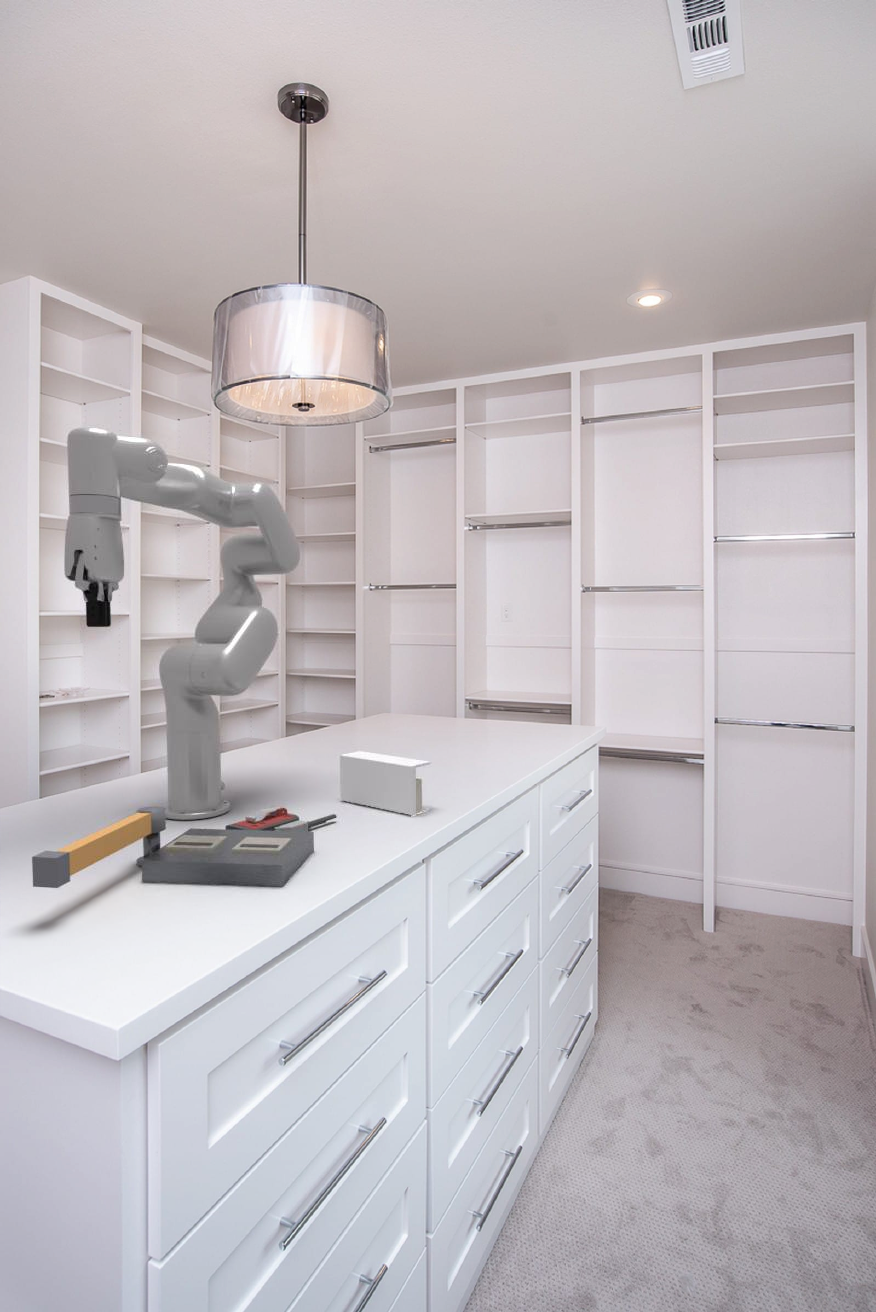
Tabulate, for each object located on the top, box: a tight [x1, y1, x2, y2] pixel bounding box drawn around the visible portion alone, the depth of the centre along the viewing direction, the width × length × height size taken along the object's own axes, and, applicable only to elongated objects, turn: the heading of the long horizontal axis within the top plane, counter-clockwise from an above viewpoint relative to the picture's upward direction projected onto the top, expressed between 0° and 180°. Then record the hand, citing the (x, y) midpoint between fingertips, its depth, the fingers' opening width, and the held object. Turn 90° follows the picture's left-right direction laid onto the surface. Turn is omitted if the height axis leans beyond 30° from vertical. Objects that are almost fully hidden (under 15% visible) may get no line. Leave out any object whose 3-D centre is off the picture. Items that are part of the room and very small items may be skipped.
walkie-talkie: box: [225, 806, 338, 832], centre depth 131 cm, size 9×4×20 cm
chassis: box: [141, 827, 315, 888], centre depth 114 cm, size 16×20×4 cm
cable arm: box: [31, 805, 167, 889], centre depth 104 cm, size 26×4×4 cm, turn 170°
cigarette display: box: [339, 750, 431, 817], centre depth 149 cm, size 20×6×9 cm, turn 51°
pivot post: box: [135, 832, 161, 868], centre depth 115 cm, size 4×4×4 cm
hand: (98, 626), depth 122 cm, fingers closed
